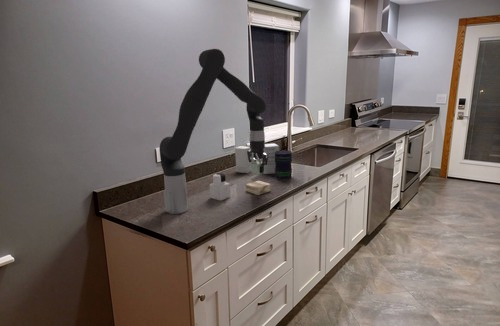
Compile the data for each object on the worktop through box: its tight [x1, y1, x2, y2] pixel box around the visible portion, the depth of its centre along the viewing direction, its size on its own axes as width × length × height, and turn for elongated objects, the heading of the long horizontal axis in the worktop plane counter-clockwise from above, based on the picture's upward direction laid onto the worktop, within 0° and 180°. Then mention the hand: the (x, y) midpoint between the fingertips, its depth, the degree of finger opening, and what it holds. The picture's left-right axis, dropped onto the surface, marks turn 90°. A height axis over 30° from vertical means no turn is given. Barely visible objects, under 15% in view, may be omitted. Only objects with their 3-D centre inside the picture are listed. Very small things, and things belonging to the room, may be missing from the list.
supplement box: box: [260, 143, 280, 175], centre depth 215 cm, size 10×9×17 cm
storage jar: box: [274, 149, 293, 181], centre depth 203 cm, size 10×10×15 cm
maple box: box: [245, 180, 272, 196], centre depth 182 cm, size 9×9×4 cm
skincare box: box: [234, 145, 251, 174], centre depth 217 cm, size 8×7×16 cm
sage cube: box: [250, 161, 265, 175], centre depth 179 cm, size 5×5×5 cm
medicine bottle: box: [209, 172, 231, 202], centre depth 173 cm, size 7×7×12 cm
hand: (258, 171), depth 180 cm, fingers closed on sage cube, 5 cm apart
